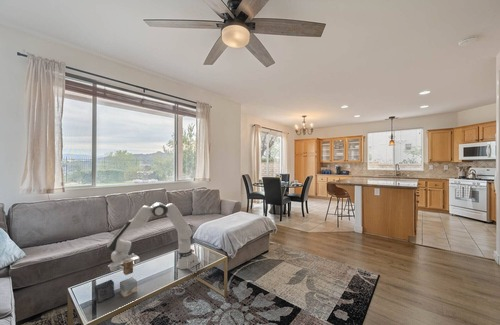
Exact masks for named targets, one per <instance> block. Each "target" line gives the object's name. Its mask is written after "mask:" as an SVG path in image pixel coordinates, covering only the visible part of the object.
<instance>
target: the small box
mask: <svg viewBox="0 0 500 325" xmlns="http://www.w3.org/2000/svg"><path fill="white" fill-rule="evenodd" d="M113 297H115V282H114V281H113V279H109V280H106V281H104V282H101V283H99V284H96V285H95V286H94V300H95V303H96V304H100V303H102V302H104V301H107V300H109V299H111V298H113Z"/></svg>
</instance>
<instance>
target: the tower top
mask: <svg viewBox="0 0 500 325" xmlns="http://www.w3.org/2000/svg"><path fill="white" fill-rule="evenodd" d="M135 287H137V288H138V281H137V279H136V278H134V276H132V277H129V278H126V279H123V280H121V281H119V289H120V288H121V289H122V290H123V291H124V292H126V291H128V290H130V289H133V288H135Z"/></svg>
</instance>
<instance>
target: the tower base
mask: <svg viewBox="0 0 500 325" xmlns="http://www.w3.org/2000/svg"><path fill="white" fill-rule="evenodd" d="M136 291H137V292H138V286H137V287H135V288H133V289H130V290H128V291H126V292H124V291H123V290H122V289H121V288H120V287H119V293H120V294H121V295H122V297H123V298H126V297H128V296H130V295H132V294H135V293H136Z"/></svg>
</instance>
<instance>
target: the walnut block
mask: <svg viewBox="0 0 500 325" xmlns="http://www.w3.org/2000/svg"><path fill="white" fill-rule="evenodd" d="M123 266H125V269H122V270H123V272H122V273H123V274H124V275H125V276H127V275H130V274H133V273H134V266H133V260H131V259H129V260H125V261H123Z"/></svg>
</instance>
